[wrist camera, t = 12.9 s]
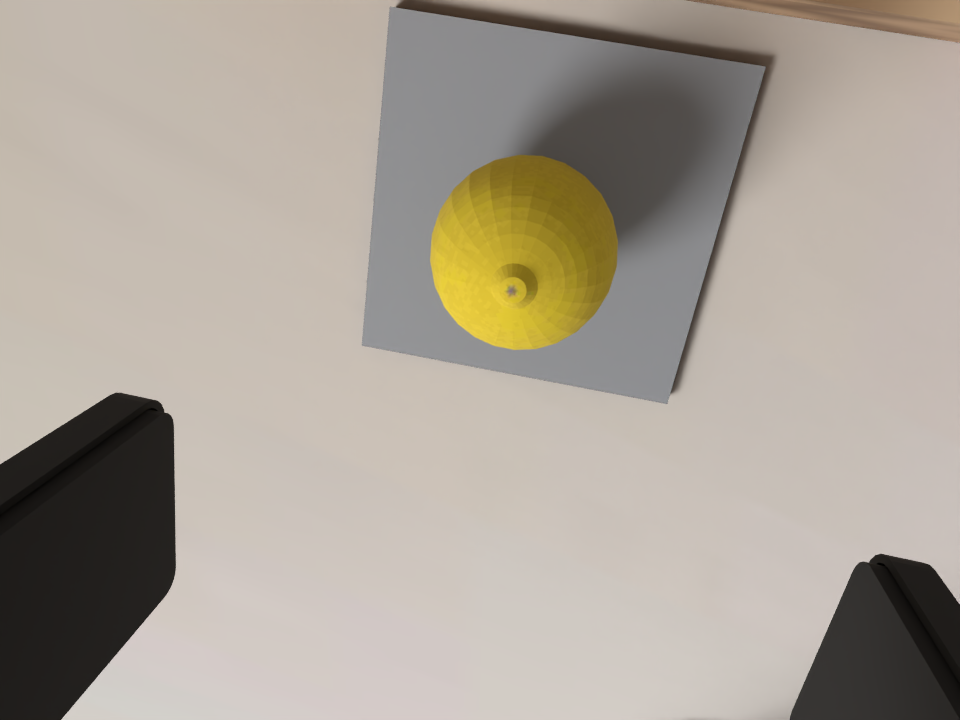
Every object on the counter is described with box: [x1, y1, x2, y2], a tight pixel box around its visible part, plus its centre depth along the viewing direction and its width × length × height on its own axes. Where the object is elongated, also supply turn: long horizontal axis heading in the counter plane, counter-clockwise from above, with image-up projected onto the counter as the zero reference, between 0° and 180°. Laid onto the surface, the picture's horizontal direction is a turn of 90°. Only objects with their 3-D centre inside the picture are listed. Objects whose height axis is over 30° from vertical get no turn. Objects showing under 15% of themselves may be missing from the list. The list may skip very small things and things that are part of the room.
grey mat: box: [362, 7, 766, 404], centre depth 25 cm, size 12×12×1 cm
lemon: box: [430, 155, 618, 350], centre depth 21 cm, size 6×6×8 cm
